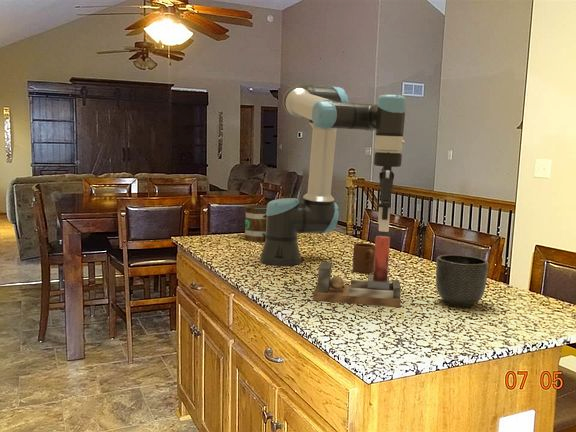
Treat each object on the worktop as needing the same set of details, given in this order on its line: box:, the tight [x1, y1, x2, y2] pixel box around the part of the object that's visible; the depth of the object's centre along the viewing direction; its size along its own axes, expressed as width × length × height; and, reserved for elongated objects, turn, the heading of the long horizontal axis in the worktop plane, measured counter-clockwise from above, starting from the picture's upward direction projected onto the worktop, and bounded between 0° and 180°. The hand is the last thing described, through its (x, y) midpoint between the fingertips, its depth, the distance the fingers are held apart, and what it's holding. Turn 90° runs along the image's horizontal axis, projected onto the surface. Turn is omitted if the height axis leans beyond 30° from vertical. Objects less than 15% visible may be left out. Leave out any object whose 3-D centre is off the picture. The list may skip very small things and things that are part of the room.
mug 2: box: [352, 242, 375, 275], centre depth 187 cm, size 12×8×9 cm, turn 13°
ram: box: [367, 235, 391, 291], centre depth 153 cm, size 6×8×16 cm
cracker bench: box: [312, 261, 402, 308], centre depth 155 cm, size 24×12×9 cm, turn 81°
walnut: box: [330, 275, 345, 289], centre depth 156 cm, size 4×4×4 cm
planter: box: [435, 254, 489, 309], centre depth 152 cm, size 14×14×13 cm
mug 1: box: [244, 204, 267, 243], centre depth 242 cm, size 20×14×15 cm
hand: (383, 227), depth 152 cm, fingers open, 13 cm apart
